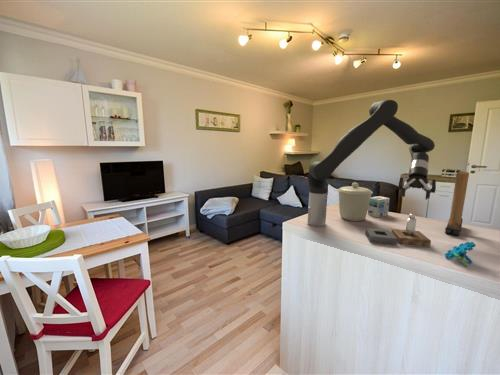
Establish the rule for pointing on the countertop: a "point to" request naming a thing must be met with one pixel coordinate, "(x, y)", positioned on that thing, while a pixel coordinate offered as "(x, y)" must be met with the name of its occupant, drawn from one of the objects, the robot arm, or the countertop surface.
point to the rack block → (411, 238)
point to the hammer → (457, 204)
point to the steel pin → (410, 225)
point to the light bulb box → (378, 206)
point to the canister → (354, 202)
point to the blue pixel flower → (461, 252)
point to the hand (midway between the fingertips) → (414, 197)
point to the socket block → (380, 236)
